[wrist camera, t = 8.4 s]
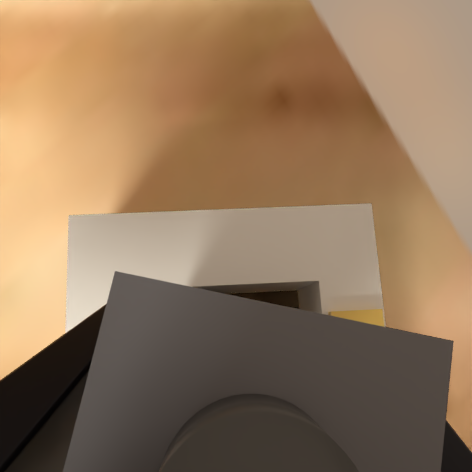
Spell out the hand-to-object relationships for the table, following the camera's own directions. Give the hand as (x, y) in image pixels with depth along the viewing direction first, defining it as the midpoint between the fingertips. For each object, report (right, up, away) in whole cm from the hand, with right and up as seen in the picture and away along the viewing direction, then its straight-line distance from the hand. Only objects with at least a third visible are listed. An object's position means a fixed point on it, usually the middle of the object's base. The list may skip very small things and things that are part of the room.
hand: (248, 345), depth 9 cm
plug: (-1, -3, +9) cm, 9 cm away
